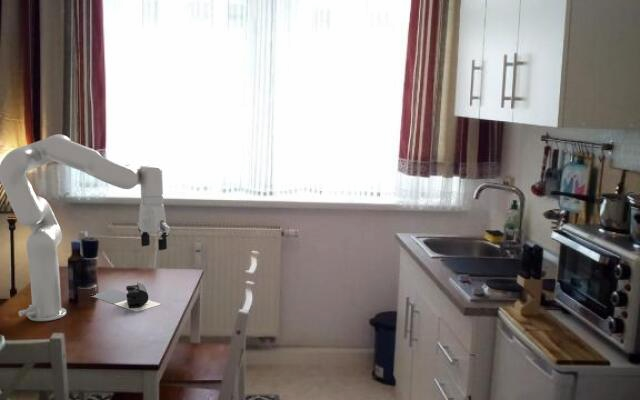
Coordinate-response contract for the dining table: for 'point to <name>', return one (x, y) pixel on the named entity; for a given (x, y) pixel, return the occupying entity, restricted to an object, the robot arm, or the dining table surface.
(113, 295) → the mat
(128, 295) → the end cap
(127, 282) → the dining table surface
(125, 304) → the board
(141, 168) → the robot arm
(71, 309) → the dining table surface
